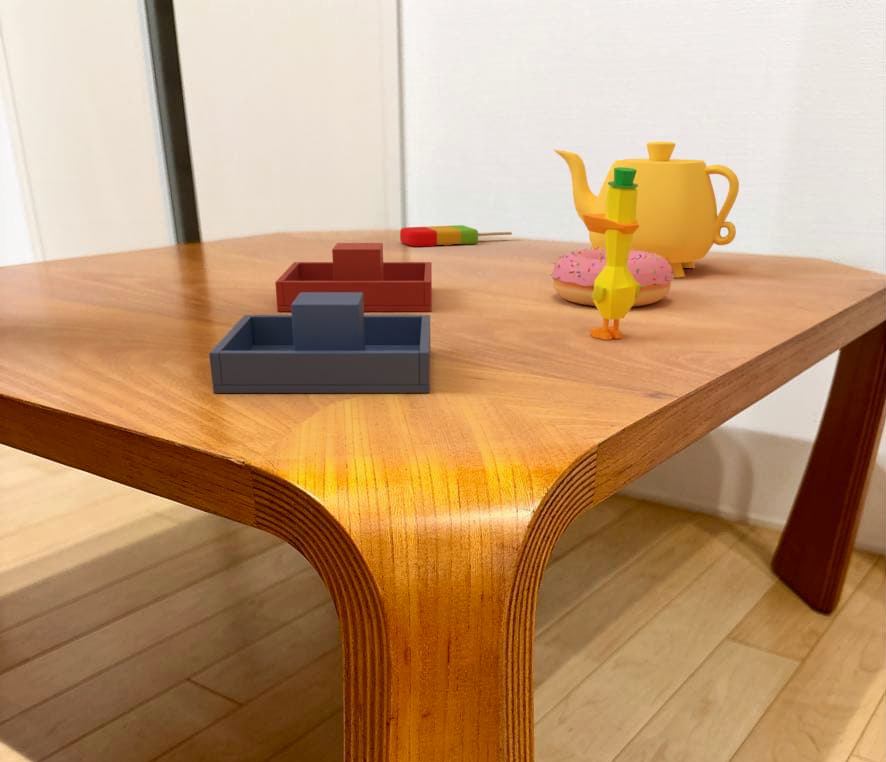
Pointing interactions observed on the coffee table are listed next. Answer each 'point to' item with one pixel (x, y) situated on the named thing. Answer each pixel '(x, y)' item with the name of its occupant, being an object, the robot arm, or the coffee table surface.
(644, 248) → the teapot
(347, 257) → the red block
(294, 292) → the red tray
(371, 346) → the blue tray
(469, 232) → the popsicle
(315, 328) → the blue block
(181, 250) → the coffee table surface
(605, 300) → the toy figure
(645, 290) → the doughnut
